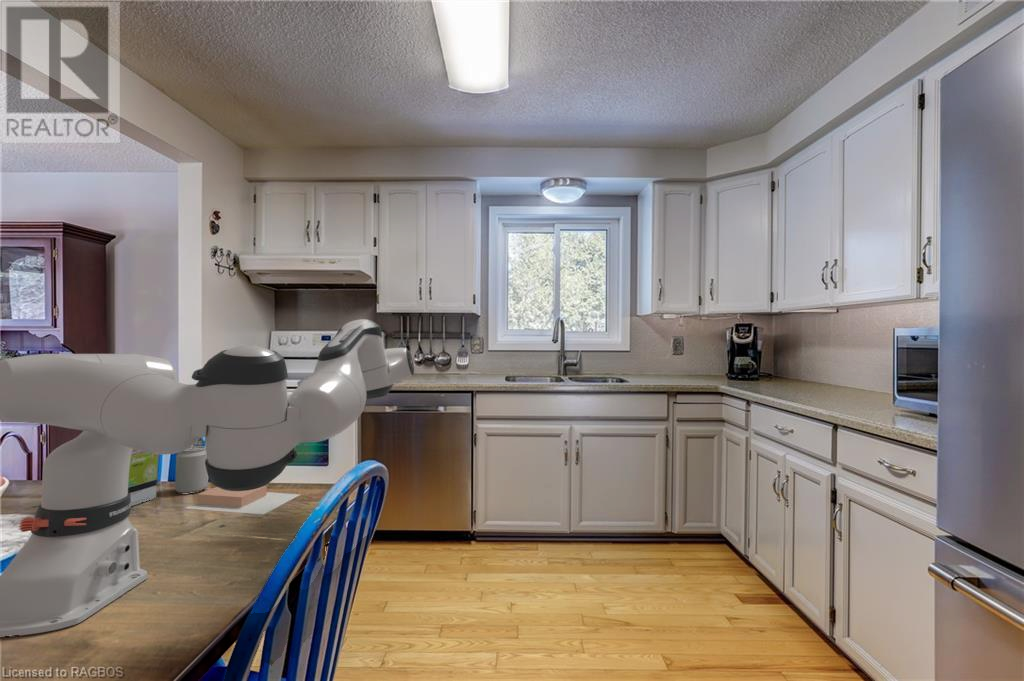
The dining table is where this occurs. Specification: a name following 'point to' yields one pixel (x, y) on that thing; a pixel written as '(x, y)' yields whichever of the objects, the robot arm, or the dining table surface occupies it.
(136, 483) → the tea box
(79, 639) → the dining table surface
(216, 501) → the tile
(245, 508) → the mat
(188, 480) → the can
